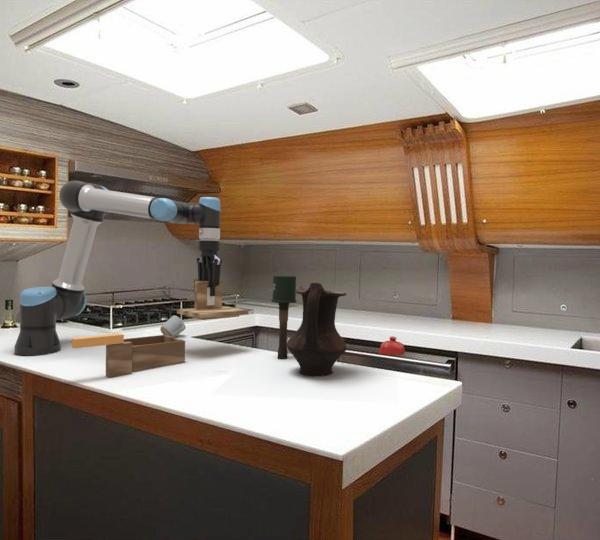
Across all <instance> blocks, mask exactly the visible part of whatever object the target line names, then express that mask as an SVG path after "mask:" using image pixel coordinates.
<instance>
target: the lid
mask: <svg viewBox="0 0 600 540" xmlns="http://www.w3.org/2000/svg"><path fill="white" fill-rule="evenodd" d="M207 286H209V281H194V307H190V308H189V307H188V308H176V314H177V315H182V316H185V317H187V318H192V319H197V320H202V321H206V320H207V321H208V320H218V319H219V320H220V319H230V318H237V317H238V318H239V317H240V316H244V315H249V311H250V310H249V309H246V308H245V309H244V308H239V307H238V308H237V307H232V306H228V305H227V306H225V305H223V281H222V280H219V286H216V287H215V305H209V306H208V305H207Z"/></svg>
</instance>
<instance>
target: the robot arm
mask: <svg viewBox="0 0 600 540" xmlns="http://www.w3.org/2000/svg"><path fill="white" fill-rule="evenodd" d="M58 195H59V197H58V198H59V202H60V204H61V205H62V207H63V208H65V209H66V210H68V211H70V212H71V213H70V215H71V217H72V218H73V222H72V226H71V228H70V234H69V237H68V240H67V245H66V247H65V251H64V255H63V259H62V263H61V267H60V271H59V275H58V277H57V279H54V280H53V281H52V284H51V286H38V287H36V286H35V287H29V288H25V289H24V290H22V291H21V292H20V297H19V333H18V336H17V339H16V342H15V343H14V348H13V351H14V354H16V355H19V356H40V355H41V354H44V355H49V354H48V353H51V354H55V353H54V352H56V353H58V352H57V351H59V352H61V351H62V346H61V345H62V343H61V340H60V338H59V336H58V332H57V328H56V327H57V325H56V322H57V321H58V320H64V319H70V318H73V317H76V316H79V315H80V314H81V313H82V312H83V311H84V310H85V309H86V306H87V303H88V299H87V296H86V293H85V286H84V284H83V279H84V276H85V273H86V268H87V265H88V261H89V257H90V254H91V251H92V246H93V244H94V239H95V235H96V232H97V228H98V226H100V224H103V222H104V217H105V216H107V215H108V214H109V213H113V214H118V215H126V216H133V217H139V218H143V219H151V220H156V221H160V222H168V223H171V224H175V225H176V224H177V225H182V224H186V225H187V224H191V225H193V224H196V225H197V224H198V228H199V230H198V239H199V241H198V250H199V251H200V252H201V254H200V257H197V258H196V263H197V277H198V281H209V286H207V305H208V306H209V305H215V287H216V286H219V281H221V279H220V278H221V265H222V262H223V259H222V258H219V256H218V252H220V250H221V249H220V248H221V246H220V245H221V243H220V242H221V241H219V240H220V239H221V200H220V198H218V197H214V196H213V197H212V196H202V197H200V198H199V201H198V202H183V201H178V200H173V199H170V198H166V197H155V196H149V195H141V194H136V193H129V192H121V191H116V190H109V189H107V187H105V186H102V185H99V184H96V183H91V182H85V181H80V180H70V181H67V182H66V183H64V184H63V185H62V187H60V191H59V193H58ZM41 356H42V355H41Z"/></svg>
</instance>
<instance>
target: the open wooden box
mask: <svg viewBox="0 0 600 540" xmlns="http://www.w3.org/2000/svg"><path fill="white" fill-rule="evenodd" d="M185 363H186V340H184V339H181V338H177V337H171V336H167V335H163V334H160V335H149V336H140V337H131V338H124V343H120V344H111V345H105V377H106V378H108V379H109V378H110V379H111V378H117V377H124V376H128V375H132V374H133V373H137V372H143V371H147V370H153V369H157V368H163V367H169V366H174V365H179V364H185Z"/></svg>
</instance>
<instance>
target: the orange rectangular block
mask: <svg viewBox="0 0 600 540" xmlns="http://www.w3.org/2000/svg"><path fill="white" fill-rule="evenodd" d="M124 336H125V334H123V333H112V334H104V335H103V334H102V335H90V336H82V337H80V336H79V337H72V338H71V348H73V349H82V348H92V347H100V346H106V345H111V344H120V343H124V339H125V337H124Z"/></svg>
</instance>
